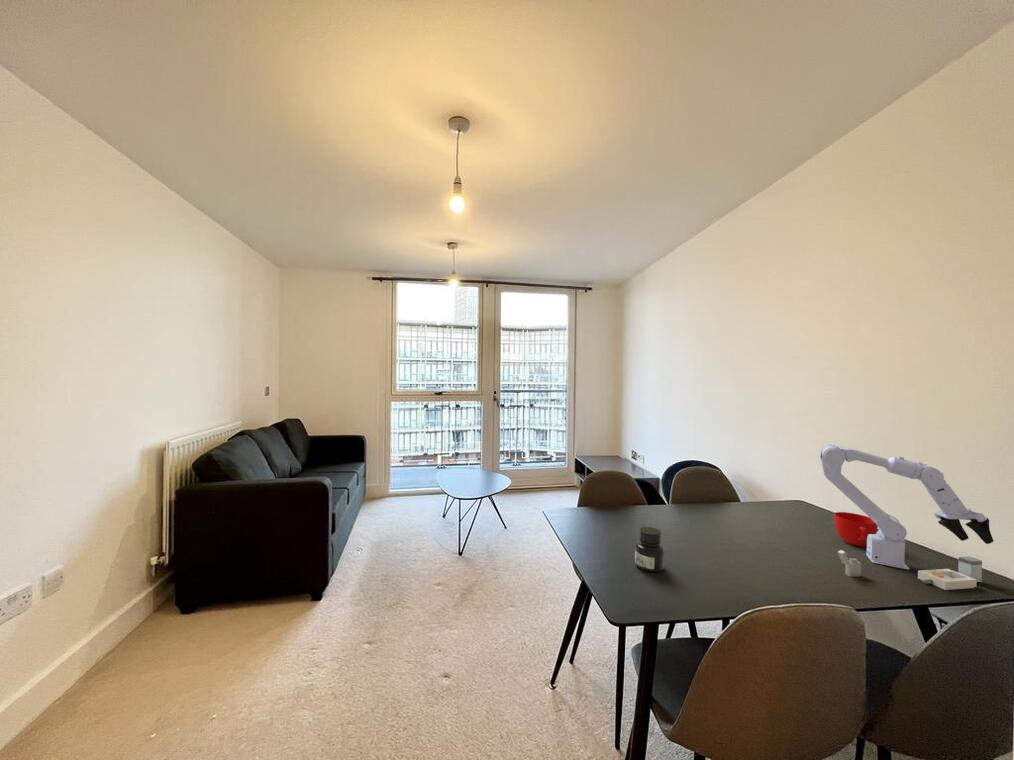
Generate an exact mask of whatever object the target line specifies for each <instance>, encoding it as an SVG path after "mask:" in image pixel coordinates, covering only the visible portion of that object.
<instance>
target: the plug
mask: <svg viewBox="0 0 1014 760" xmlns="http://www.w3.org/2000/svg"><path fill="white" fill-rule="evenodd" d="M957 570H958V571H957V572H958V573H960V574H963V575H966V576H968V577H971V578H974V579H976V580H977V582H981V583H982V582H983V581H982V580H983V579H982V577H983V560H981V559H978V558H975V557H973V556H958V567H957Z"/></svg>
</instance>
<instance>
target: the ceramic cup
mask: <svg viewBox="0 0 1014 760" xmlns="http://www.w3.org/2000/svg"><path fill="white" fill-rule="evenodd" d="M833 522H834V526H835V530H836V532H837V534H838V536H839V537H840V538H841V539H842V540H843V542H845V543H847V544H848V545H852V546H856V547H867V536H868V534H876V533H877V532H878V529H879V527H878V526H877V524H876V523H875V522H874V521H873V520H872V519H871V518H870V517H869V516H868V515H863V514H858V513H855V512H854V513H853V512H845V511H838V512H834V514H833Z"/></svg>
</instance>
